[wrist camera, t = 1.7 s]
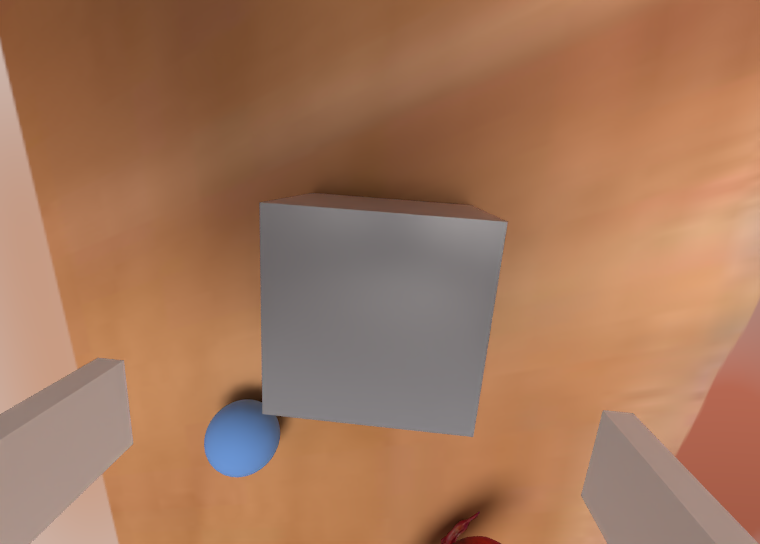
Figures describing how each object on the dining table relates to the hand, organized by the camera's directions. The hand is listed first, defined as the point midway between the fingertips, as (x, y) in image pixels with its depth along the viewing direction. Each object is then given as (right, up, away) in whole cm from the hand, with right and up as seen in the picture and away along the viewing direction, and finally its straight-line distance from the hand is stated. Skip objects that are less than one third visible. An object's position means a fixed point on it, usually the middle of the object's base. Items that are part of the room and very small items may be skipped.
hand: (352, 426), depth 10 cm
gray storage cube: (+1, +4, +15) cm, 15 cm away
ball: (-9, -7, +16) cm, 20 cm away
